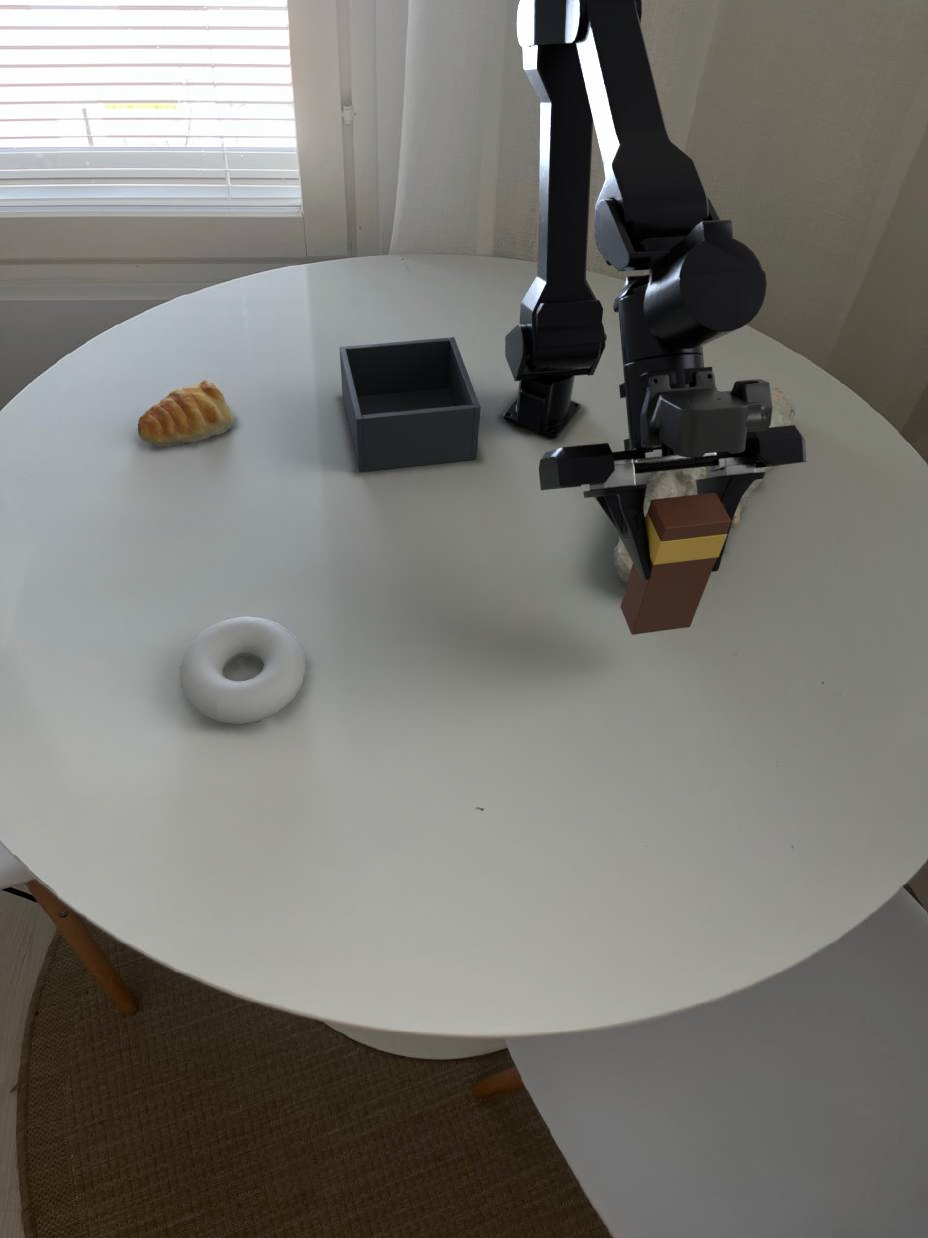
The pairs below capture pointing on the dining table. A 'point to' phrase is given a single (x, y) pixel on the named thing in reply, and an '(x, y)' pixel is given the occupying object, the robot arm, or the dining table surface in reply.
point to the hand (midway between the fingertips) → (679, 575)
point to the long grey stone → (685, 479)
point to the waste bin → (409, 404)
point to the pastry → (186, 416)
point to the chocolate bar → (675, 562)
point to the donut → (248, 696)
